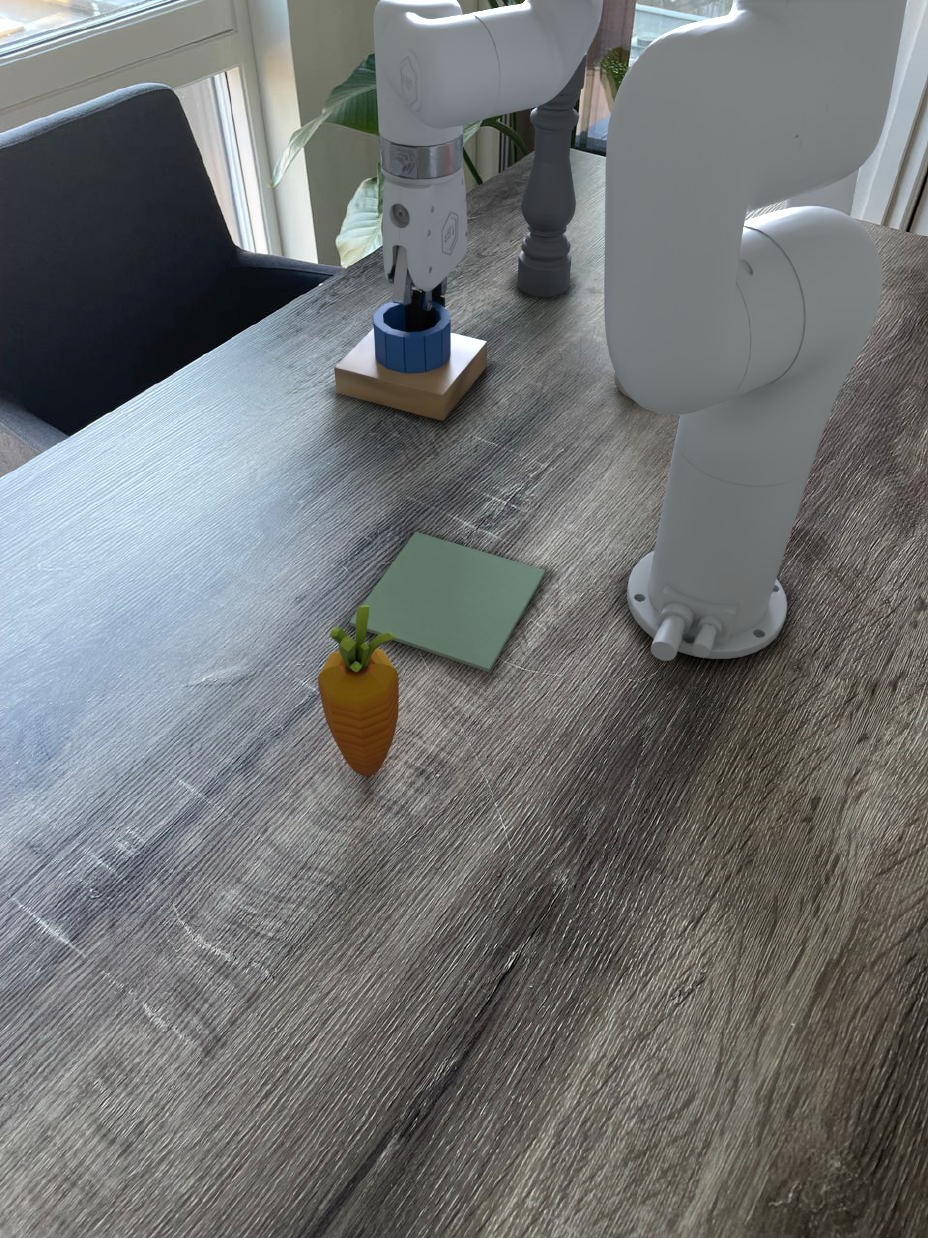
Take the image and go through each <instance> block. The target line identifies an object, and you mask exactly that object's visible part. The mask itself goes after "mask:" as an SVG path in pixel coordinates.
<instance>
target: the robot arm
mask: <svg viewBox="0 0 928 1238" xmlns="http://www.w3.org/2000/svg"><path fill="white" fill-rule="evenodd" d="M907 4H908V0H733V3H732V7H731V9H730V12H729V14H727V15H724V16H718V17H714V18H709V19H705V20H700V21H696V22H691V23H688V24H685V25H682V26H679V27H677V28H674V29H673V30H670V31H668V32H665V33H664V34H662V35H660V36H659V37H657V38H656V39H654V40H653V41H651V42H650V43H649V44H648V45H647V46H645V47H644V48H643V50H642V51H641V52H640V53H639V54H638V55H637V56H636V58H635V59H634V60H633V61H632V63H631V64H630V66H629V67H628V69H627V70H626V72H625V74H624V76H623V78H622V80H621V83H620V85H619V87H618V90H617V92H616V95H615V98H614V101H613V104H612V106H611V112H610V116H609V121H608V127H607V134H606V135H607V136H606V149H605V179H604V180H605V184H604V185H605V186H604V190H605V191H604V273H603V274H604V275H603V276H604V279H603V280H604V283H603V286H604V287H603V290H604V291H603V294H604V295H603V297H604V300H603V301H604V302H603V304H604V305H603V308H604V309H603V311H604V330H605V337H606V344H607V350H608V355H609V358H610V361H611V365H612V368H613V370H614V373H616V375H617V377H618V379H619V381H620V383H621V385H622V386H623V388H624V390H625V391H626V392H627V394H628V395H629V396H630V397H631V398H632V399H633V400H632V399H631V400H632V401H634V403H636V404H637V405H638V406H640V407H641V408H643V409H645V410H648V411H649V412H652V413H654V414H658V415H664V416H679V420H678V425H677V426H678V427H677V430H676V435H675V438H674V444H673V450H672V456H671V460H670V466H669V469H668V470H669V471H668V477H667V480H666V486H665V491H664V492H665V493H664V497H663V502H662V507H661V513H660V518H659V522H658V529H657V534H656V539H655V545H654V549H653V550H652V551H650V552H648V553H647V554H646V555H644V557H642V558H641V559H640V560H639V561H638V562H637V563H636V564H635V566H634V567H633V569H632V570H631V573H630V575H629V578H628V583H627V587H626V590H627V591H626V600H627V604H628V605H627V606H628V609H629V611H630V613H631V615H632V617H633V618H634V621H635V622H636V623H637V624H638V625H639V626H640V628H641V629H642V630H643V631H644V632H645V633H646V634H648V635H649V636H650V637H651V638H652V639H653V641H652V643H651V645H650V652H651V654H652V655H653V656H654V657H655V658H656V659H658V660H661V661H663V662H664V661H665V662H670V661H672V660H674V659H675V658H676V656H677V654H678V652H679V653H681V654H685V655H688V656H692V657H697V658H701V659H702V658H703V659H711V660H720V659H721V660H729V659H735V658H741V657H742V658H743V657H745V656H749V655H751V654H754V653H757V652H759V651H760V650H763V649H764V648H766V647H768V645H770V644H771V643H772V642H773V641H774V640H776V638H777V637H778V636H779V634H780V632H781V631H782V629H783V626H784V624H785V621H786V618H787V612H788V600H787V595H786V592H785V590H784V588H783V585H782V584H781V583H780V581H779V580H778V575H779V572H780V569H781V566H782V563H783V560H784V557H785V554H786V550H787V547H788V543H789V539H790V537H791V535H792V531H793V527H794V525H795V521H796V519H797V515H798V512H799V509H800V505H801V503H802V499H803V496H804V493H805V490H806V486H807V483H808V480H809V477H810V474H811V471H812V467H813V465H814V463H815V459H816V456H817V453H818V450H819V447H820V445H821V441H822V438H823V435H824V431H825V429H826V427H827V423H828V420H829V418H830V415H831V413H832V410H833V407H834V405H835V403H836V400H837V398H838V397H839V394H840V391H842V390H841V389H842V388H843V386H844V384H845V382H846V379H847V378H848V376H849V374H850V372H851V370H852V368H853V367H854V366H855V363H856V362H857V359H858V358H859V356H860V353H861V352H862V350H863V348H864V346H865V344H866V343H867V340H868V338H869V336H870V334H871V331H872V328H873V327H874V324H875V321H876V318H877V314H878V311H879V308H880V305H881V299H882V293H883V281H884V280H883V266H882V262H881V257H880V253H879V251H878V248H877V246H876V244H875V242H874V240H873V238H872V236H871V235H870V232H868V231H867V229H866V228H865V227H864V226H863V225H862V224H861V223H860V222H859V221H857V220H856V219H855V218H853V217H852V216H851V215H850V216H848V215H846V214H844V213H843V212H840V211H838V210H835V209H831V208H826V207H820V206H805V207H793V208H788V209H784V208H783V209H784V210H783V209H779V210H775V211H772V212H769V213H765V214H763V215H760V216H759V215H758V216H756V217H753V218H750V219H747V218H746V217H747V214H748V213H751V212H754V211H757V210H760V209H763V208H766V207H770V206H773V205H776V204H779V203H782V202H786V200H789V199H792V198H795V197H798V196H801V195H804V194H807V193H810V192H813V191H816V190H819V189H821V188H824V187H826V186H829V185H831V184H833V183H835V182H837V181H839V180H842V179H844V178H846V177H847V176H849V175H851V174H852V173H853V172H855V171H856V170H858V169H859V170H860V168H861V167H862V166H864V164H865V163H866V162H867V160H868V159H869V158H870V157H871V156H872V154H873V153H874V151H875V150H876V148H877V147H878V144H879V142H880V138H881V136H882V134H883V130H884V127H885V123H886V120H887V115H888V112H889V111H888V110H889V108H890V107H889V106H890V101H891V97H892V90H893V85H894V80H895V73H896V67H897V63H898V57H899V56H898V55H899V50H900V44H901V38H902V32H903V26H904V21H905V16H906V15H905V14H906V9H907ZM603 8H604V0H524V1H523V2H522V3H520V4H514V5H508V6H501V7H497V8H492V9H486V10H482V11H476V12H470V13H466V14H464V13H463V11H462V7H461V5H460V3H459V2H458V1H457V0H378V2H377V4H376V5H375V8H374V12H373V22H372V23H373V24H372V25H373V26H372V27H373V43H374V64H375V65H374V66H375V82H376V83H375V84H376V102H377V122H378V140H379V157H380V158H379V159H380V172H381V174H382V175H383V176H384V180H383V194H382V196H383V197H382V220H381V221H382V223H381V224H382V225H381V226H382V227H381V231H382V232H381V233H382V234H381V236H382V238H381V240H382V241H381V242H382V260H383V262H382V263H383V271H384V276H385V280H386V281H387V283H388V284H391V285H393V288H392V297H391V302H392V301H393V303H397V304H402V305H403V306H405V323H406V332H421V331H424V330H427V329H430V328H433V327H435V325H436V307H432V301H433V302H436V303H439V304H440V305H441V306H443V307H444V308H446V297H445V296H446V293H447V290H448V276H449V275H450V274H451V272H452V271H453V270H455V269H456V268H457V266H458V265H459V264H460V263H461V262H462V261H463V259H464V258H465V257H466V254H467V253H468V249H469V248H468V247H469V240H468V239H469V238H468V237H469V235H468V208H467V207H468V205H467V190H466V180H465V173H464V126H465V125H468V124H472V123H476V122H481V121H485V120H487V119H490V118H495V117H499V116H504V115H507V114H512V113H517V112H522V111H526V110H530V109H533V108H534V109H535V108H537V107H538V106H540V105H542V104H545V103H547V102H548V101H550V100H551V99H553V98H554V97H555V96H556V95H557V94H558V93H559V92H560V91H561V90H562V89H563V88H564V87H565V86H566V84H567V83H568V82H569V80H570V79H571V77H572V76H573V74H574V72H575V71H576V69H577V68H578V66H579V64H580V62H581V61H582V59H583V57H584V55H585V54H586V52H587V53H588V51H589V49H590V47H591V45H592V44H593V41H594V39H595V37H596V34H597V33H598V30H599V27H600V23H601V21H602V15H603ZM746 219H747V220H746ZM412 287H414V288H416V289H413V288H412Z"/></svg>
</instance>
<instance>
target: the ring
mask: <svg viewBox="0 0 928 1238" xmlns="http://www.w3.org/2000/svg"><path fill="white" fill-rule="evenodd" d="M432 307H436V325H435V327H433V328H430V329H427V330H424V331H421V332H406V323H405V306H403V305H402V304H397V303H393V301H392V300H391V301H390V302H387V303H384V304H382V305H381V306H380V307H378V308H377V309H376V310H375V312H373V314H372V325H373V328H374V342H375V356H376V360H377V361H378V362H379V363H380V364H382V365H383V366H384V367H385V368H388V369H389V370H393V371H397V372H401V373H405V372H406V373H422V372H428V371H431V370H433V369H436V368H439V367H441V366H443V365H444V364H445V362H446V361H447V360H448V359H449V358H450V355H451V333H452V329H451V328H452V325H451V323H452V322H451V321H452V319H451V315H450V312H449V310H448V309H447V308H446V307H445V308H444V307H443V306H441V305H440V304H439V303H436V302H433V301H432Z"/></svg>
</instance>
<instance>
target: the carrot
mask: <svg viewBox="0 0 928 1238" xmlns="http://www.w3.org/2000/svg"><path fill="white" fill-rule="evenodd" d="M361 605H362V604H361ZM361 605H358V606H357V610H356V612H357V617H356V628H355V637H354V638H352V637H351V636H349V635H348V634H347V633H346V631H344V630H343V629H342V628H341V627H339V626H336V627H333V628H332V629H331V630H330V633H329V637H330V638H332V640H334V641H335V642H337V643H338V650H337V651H334V652H331V653H330V654H329V655H328V658H326V661H325V663H324V665H323V666H322V669H320V670H321V671H320V672H319V673H318V676H317V677H318V678H317V683H318V684H317V685H318V690H319V697H320V700H321V701H320V702H321V705H322V709H323V713H324V714H323V715H324V718H325V721H326V725H327V726H328V729H329V731H330V734H331V736H332V737H333V741H334V742H335V744H336V747H337V749H338V750H339V751H340V753H341V756H342V757H343V759H344V761H345V762H346V764H347V765H348V766H349V767H350V768H351V770H353V771H354V772H355V773H357V774H358V775H360V776H362V777H365V778H369V777H372V776H374V775H376V774H377V773H378V771H380V769H381V768H382V766H383V764H384V762H385V761H386V758H387V756H388V754H389V752H390V750H391V747H392V744H393V742H394V737H395V734H396V729H397V725H398V721H399V711H400V709H399V707H400V686H399V685H400V683H399V682H400V681H399V673H398V671H397V670H396V668H395V666H394V665H393V663H392V661H391V660H390V659H389V657H388V655H387V653H386V652H385V651H384V649H380V648H379V647H380V646H381V645H383V644H384V643H388V642H391V641H394V640H393V639H395V636H394V634H393V633H392V632H387V633H383V634H381V635H376V636H375V637H374V638H373V639H372V640H371V641H370V642H369V643H366V637H367V625H368V618H369V606H368V605H362V606H361ZM354 639H355V640H354Z"/></svg>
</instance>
